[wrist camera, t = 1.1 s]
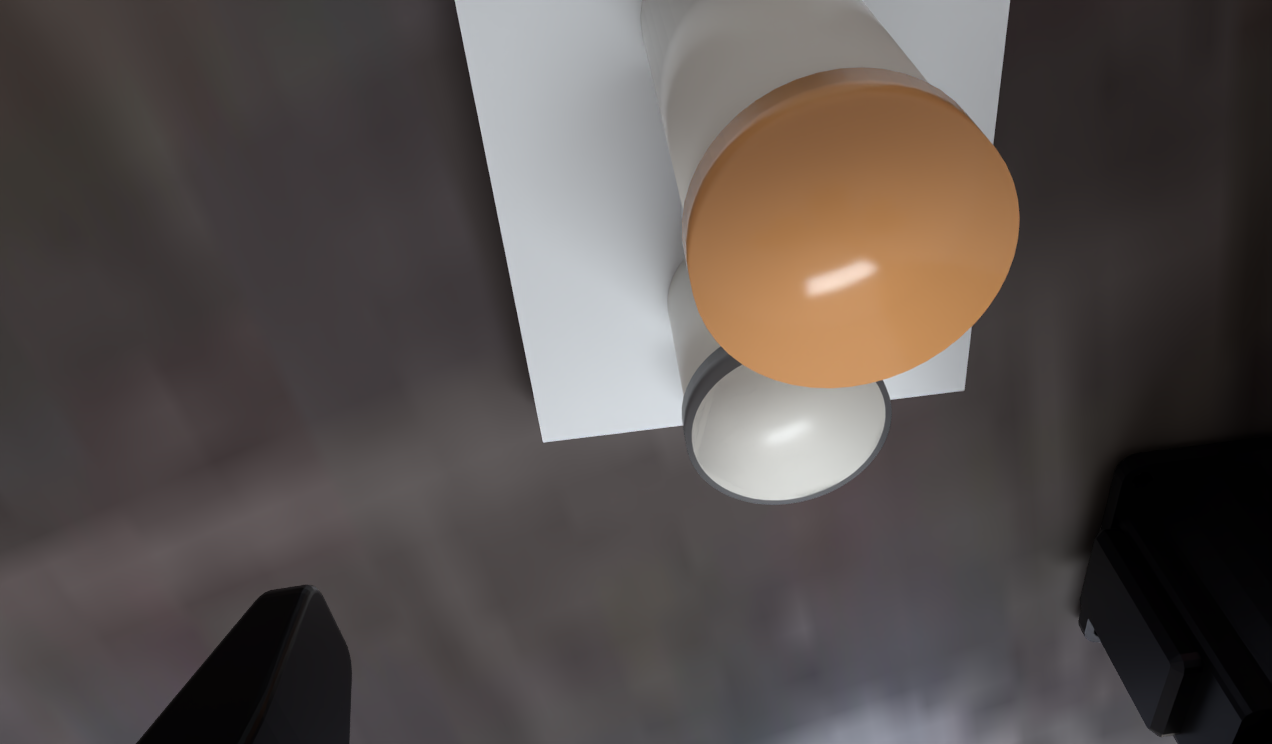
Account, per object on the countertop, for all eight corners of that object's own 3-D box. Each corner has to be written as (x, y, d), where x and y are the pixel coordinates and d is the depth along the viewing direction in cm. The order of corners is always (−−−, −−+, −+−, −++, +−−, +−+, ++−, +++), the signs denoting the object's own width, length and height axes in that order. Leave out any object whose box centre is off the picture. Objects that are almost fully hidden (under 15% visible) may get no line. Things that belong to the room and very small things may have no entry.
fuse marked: (844, -109, 16) (1041, 77, 10) (840, 101, 18) (999, 368, 12) (624, -83, 16) (677, 121, 10) (644, 125, 18) (699, 405, 12)
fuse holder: (1065, -755, 13) (1310, -920, 9) (949, 362, 23) (1036, 524, 19) (331, -666, 13) (236, -789, 9) (543, 412, 23) (543, 585, 19)
